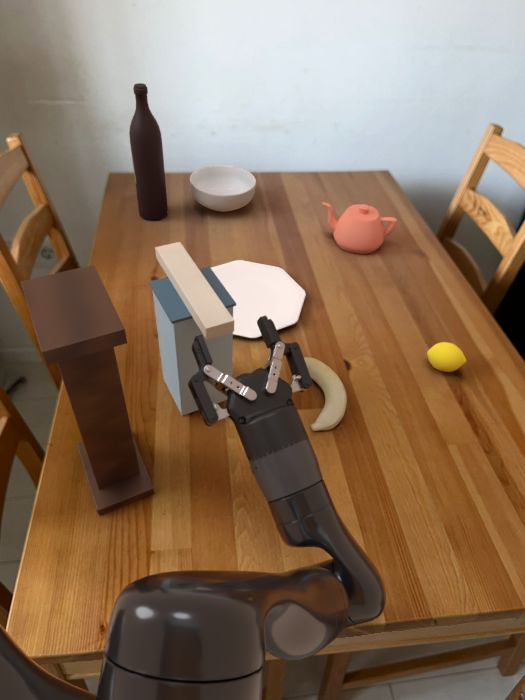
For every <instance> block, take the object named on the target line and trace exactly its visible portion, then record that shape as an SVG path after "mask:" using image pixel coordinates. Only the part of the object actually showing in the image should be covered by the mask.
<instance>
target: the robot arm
mask: <svg viewBox="0 0 525 700" xmlns="http://www.w3.org/2000/svg"><path fill="white" fill-rule="evenodd" d="M257 325H258V327H259V330H260V332H261V335H262V337H261V338H262V339H263V342H264V344H265V346H266V349H269V353H268V357H267V361H266V363H265V365H264V368H263V367H259V368H256V369H254V370H253V371H251V372H243V373H241V374H238V375H237V376H236V377H235V378H234V377H233V376H232V377H231V376H229V375H228V374H224V373H222V372H220V371H219V370H217V369H216V368H214V367H213V366H212V365H211V364H212V363H213V361H212V358H211V356H210V353H209V351H208V348H207V345H206V343H205V340H204V338H203V335H202V334H201V335H198V336H196V337H195V339H194V342H193V344H192V352H193V354H194V357H195V359H196V362H197V365H198V367H199V372H198V373H196V374H195V375H193V376H192V377H191V379H190V380H189V382H188V387H189V389H190V391H191V394H192V396H193V398H194V400H195V402H196V405H197V407H198V409H199V410H198V412H199V414H200V416H201V418H202V421H203V423H204V425H206V426H207V427H213V426H214V425H215V424H216V423H218V422H220V421H222V420H225V419H227V418H228V419H230V420H231V421H232V422H233V425H234V427H235V430H236V432H237V435H238V437H239V439H240V442H241V445H242V447H243V450H244V453H245V456H246V459H247V460H248V463H249V468H250V471H251V473H252V475H253V476H254V478H255V482H256V484H257V486H258V487H259V489H260V490H261V493H262V495H263V496H264V498H265V500H266V502H267V506H268V509H269V511H270V514H271V516H272V519H273V521H274V524H275V526H276V529H277V532H278V534H279V537H280V539H281V540H282V542H283V544H284V545H285V546H286V547H288V548H291V549H304V548H317V549H321V550H323V551H324V552H325V553H327V554H328V555H329V556H330V557H331V558H329V559H327V560H323V561H321V562H317V563H313V564H311V565H307V566H302V567H298V568H294V569H290V570H287V571H283V572H267V571H266V572H265V571H255V570H254V571H253V570H215V569H214V570H213V569H210V570H208V569H207V570H201V569H199V570H197V569H196V570H195V569H194V570H192V569H191V570H190V569H189V570H187V569H186V570H173V571H163V572H159V573H153V574H150V575H146V576H143V577H141V578H138V579H136V580H133V581H131V582H130V583H129V584H127V585H125V587H124V588H122V589H121V590H120V592H119V593H118V594H117V596H116V598H115V601H114V603H113V605H112V610H111V613H110V617H109V621H108V625H107V629H106V636H105V640H104V646H103V654H102V662H101V667H100V672H99V679H98V686H97V692H96V693H95V692H91V691H89V690H86V689H84V688H83V687H79V686H76V685H75V684H72V683H71V682H68V681H65V680H64V679H61V678H59V677H58V676H55V675H54V674H52V673H51V672H49V671H47V670H46V669H44V667H42V666H41V665H39V664H38V662H36V661H35V660H33V659H32V658H31V657H30V656H29V655H28V654H27V653H26V651H24V650H23V648H21V646H20V645H18V643H17V642H16V641H15V640H14V638H13V637H12V636H11V635H10V634H9V632H8V631H7V630H6V629H5V627H4V626H3V625H2V624H1V623H0V700H262V698H263V687H264V675H265V674H264V673H265V663H266V656H267V653H268V654H270V655H271V656H272V657H275V658H278V659H280V660H284V661H291V662H293V661H303V660H306V659H308V658H311V657H313V656H315V655H316V654H318V653H319V652H320V651H322V650H323V649H325V648H326V647H328V645H330V644H331V643H332V642H334V641H335V640H336V639H337V638H338V637H339V636H340V634H341V633H342V632H343V630H345V629H348V628H351V627H354V626H355V627H356V626H358V625H362V624H365V623H369V622H372V621H375V620H377V619H378V618H379V617H381V616H382V614H383V613H384V611H385V608H386V604H387V603H386V602H387V591H386V590H387V589H386V585H385V582H384V580H383V577H382V575H381V573H380V571H379V570H378V568H377V566H376V564H374V562H373V561H372V559H371V558H370V557H369V555H368V554H367V553H366V551H365V550H364V549H363V548H362V546H361V545H360V544H359V543H358V541H357V540H356V539H355V537H354V536H353V534H352V533H351V531H350V530H349V529H348V527H347V525H346V524H345V522H344V521H343V519H342V517H341V516H340V514H339V512H338V510H337V508H336V506H335V504H334V501H333V499H332V496H331V495H330V494H331V493H330V492H329V489H328V486H327V484H326V482H325V480H324V478H323V477H324V476H323V474H322V471H321V466H320V464H319V460H318V457H317V454H316V452H315V450H314V447H313V444H312V443H311V440H310V438H309V435H308V433H307V430H306V428H305V426H304V423H303V421H302V418H301V415H300V413H299V411H298V408H297V406H296V404H295V402H294V400H293V394H295V393H298V392H299V393H304V392H306V391H307V390H309V389H311V388H312V387H313V383H314V382H313V379H312V378H311V377H310V374H309V371H308V368H307V365H306V363H305V360H304V357H305V356H304V355H303V352H302V349H301V345H300V344H299V342H296V341H293V342H291V343H290V342H284V341H283V340H282V339H281V337H280V334H279V332H278V331H277V330H276V327H275V325H274V322H273V321H272V320H271V319H268V318H267V316H262V317H260V318H259V319H258V320H257ZM283 357H285V359H286V362H287V365H288V368H289V370H290V374H291V377H290V379H289V381H290V383H289V382H287V381H285V380H284V379H282V378H281V377H280V373H281V370H282V365H283ZM204 381H206V382H208V383H209V384H211V385H212V386H214V387H215V389H217V390H218V391H219V392H221V393H223V394H224V395H226V396H227V397H228V398H227V400H226V402H225V406H224V408H223V407H221V406H220V405H219V403H212V401H211V399H210V397H209V394H208V392H207V390H206V388H205V386H204V383H203V382H204Z"/></svg>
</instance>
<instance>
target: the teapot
mask: <svg viewBox="0 0 525 700" xmlns="http://www.w3.org/2000/svg"><path fill="white" fill-rule="evenodd" d="M321 205H323V206H324V207H325V208H326V211H327V226H328V227H329V229H330V230H331V231H332V232H333V233H332V235H333V239H334V242H335V243H336V244H337V246H338V247H339V248H341V249H342V250H344V251H346V252H348V253H353V254H358V255H359V254H361V255H366V254H371V253H373V252H375V251H376V250H378V249H379V248H380V247H381V246H382V244H383V243H384V238H385V237H386V236H388V235H389V234H390V233H391V232H392V231H394V230H395V229H396V227H397V225H398V223H399V221H398V219H397V218H396V217H391V216H384V217H383V216H381V215H380V212H379V210H378V209H376V208H375V207H374V206H371V205H368V204H366V203H362V204H361V203H357V204H356V203H355V204H352V205H350V206H348V207H347V208H346V209H345V211H343V213H342V214H341V215H340V216H339V218H338V219H337V218H336V217H335V216H334V208H333V206H332V205H331V204H330V203H329V202H325V201H321ZM384 222H385V223H389V226H388V227H387V229H386V230H385V227H384V226H385V225H384Z"/></svg>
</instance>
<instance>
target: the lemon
mask: <svg viewBox="0 0 525 700" xmlns="http://www.w3.org/2000/svg"><path fill="white" fill-rule="evenodd" d="M426 356H427V359H428V361H429V364H430V365H431V366H432V367H433V368H434V369H436V370H438V371H440V372H444V373H453V372H454V371H457V370H458V369H459V368H461V367H462V366H464V365H465V364H466V363H467V358H466V355H464V353H463V350H462V349H461V348H460V347H458V346H457V345H456V344H455V343H453V342H447V341H441V342H438V343H434V345H433V346H431V347H430V348H429V349H428V350H427V352H426Z"/></svg>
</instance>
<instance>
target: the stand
mask: <svg viewBox="0 0 525 700" xmlns="http://www.w3.org/2000/svg"><path fill="white" fill-rule="evenodd" d="M20 285H21V288H22V292H23V294H24V298H25V302H26V305H27V308H28V311H29V314H30V318H31V321H32V325H33V328H34V331H35V334H36V338H37V342H38V345H39V348H40V351H41V354H42V358H43V360H44V363H45V366H46V367H49V366H53V365H57V367H58V369H59V372H60V376H61V379H62V382H63V385H64V388H65V392H66V394H67V398H68V400H69V403H70V407H71V409H72V412H73V415H74V418H75V421H76V424H77V428H78V430H79V433H80V437H81V439H82V442H79V443H76V446H77V449H78V453H79V456H80V460H81V462H82V466H83V469H84V472H85V476H86V478H87V482H88V485H89V489H90V492H91V494H92V498H93V501H94V504H95V508H96V510H97V513H98V516H99V517H100V516H102V515H105V514H108V513H110V512H112V511H114V510H117V509H119V508H122V507H125V506H127V505H130V504H132V503H135V502H136V501H140V500H142V499H144V498H147V497H149V496H152V495H154V494H155V493H156V492H155V487H154V484H153V482H152V480H151V477H150V474H149V472H148V470H147V467H146V464H145V463H144V459H143V458H142V455H141V453H140V450H139V448H138V445H137V443H136V440H135V438H134V436H133V435H134V434H133V431H132V427H131V422H130V418H129V413H128V408H127V403H126V398H125V393H124V389H123V385H122V379H121V375H120V370H119V365H118V361H117V356H116V351H115V347H118V346H119V347H120V346H122V345H126V344H128V340H127V333H126V328H125V326H124V324H123V322H122V320H121V318H120V315H119V313H118V312H117V310H116V308H115V306H114V303H113V301H112V299H111V297H110V294H109V292H108V291H107V288H106V287H105V285H104V282H103V280H102V278H101V276H100V274H99V272H98V270H97V268H96V266H95V264H91V265H87V266H83V267H82V266H81V267H78V268H73V269H69V270H66V271H60V272H55V273H51V274H47V275H43V276H37V277H34V278H29V279H24V280H20Z"/></svg>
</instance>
